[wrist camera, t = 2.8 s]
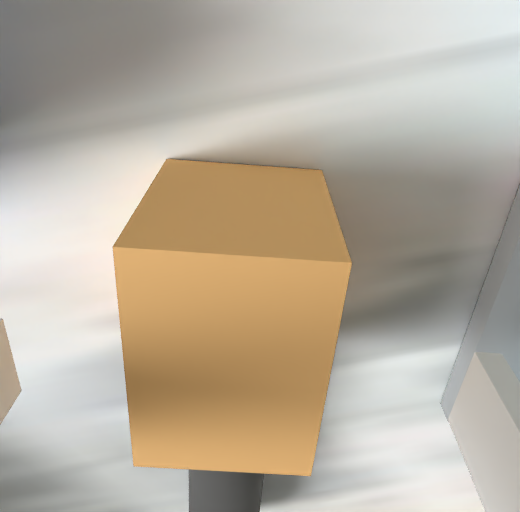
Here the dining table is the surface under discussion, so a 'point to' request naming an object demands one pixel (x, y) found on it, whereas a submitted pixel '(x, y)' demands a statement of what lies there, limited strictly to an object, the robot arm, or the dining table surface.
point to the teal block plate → (494, 311)
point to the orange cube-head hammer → (230, 324)
